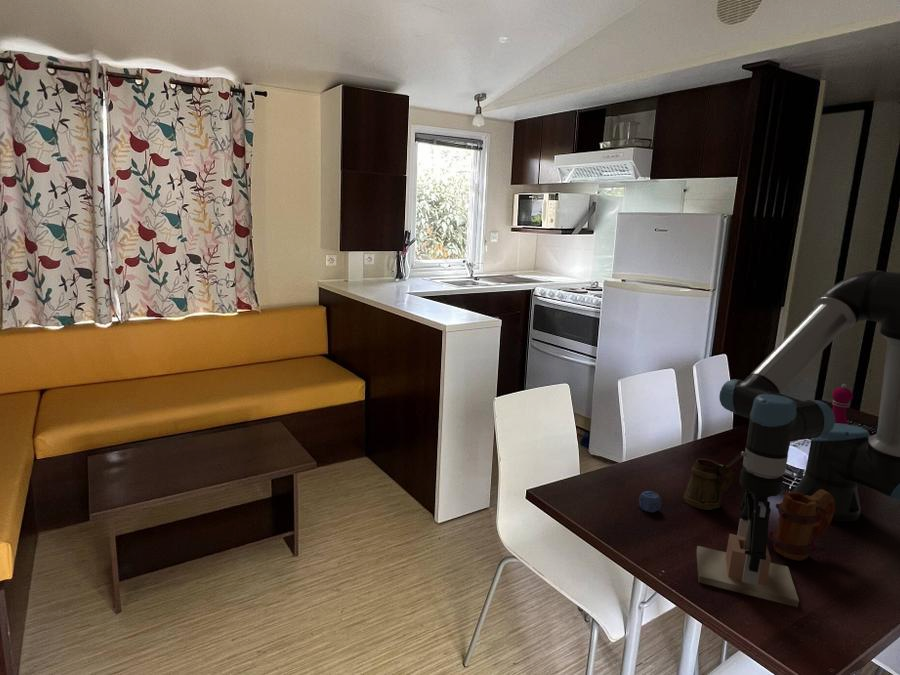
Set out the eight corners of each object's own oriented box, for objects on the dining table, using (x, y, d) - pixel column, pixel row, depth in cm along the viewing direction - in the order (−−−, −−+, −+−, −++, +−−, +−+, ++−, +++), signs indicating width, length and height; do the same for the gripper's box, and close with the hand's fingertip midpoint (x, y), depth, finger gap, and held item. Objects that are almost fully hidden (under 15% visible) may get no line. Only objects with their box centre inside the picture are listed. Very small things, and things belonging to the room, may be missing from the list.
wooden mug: (727, 521, 141) (739, 455, 138) (677, 500, 151) (686, 437, 147) (743, 511, 147) (754, 446, 143) (693, 490, 157) (702, 430, 153)
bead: (761, 566, 121) (765, 541, 119) (765, 585, 114) (770, 559, 113) (725, 558, 123) (729, 533, 122) (728, 576, 117) (732, 550, 116)
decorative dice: (637, 505, 148) (639, 491, 147) (650, 504, 149) (652, 490, 148) (646, 513, 144) (648, 499, 143) (660, 511, 145) (662, 497, 144)
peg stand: (786, 572, 122) (797, 516, 119) (797, 607, 111) (810, 545, 108) (696, 551, 128) (705, 497, 125) (698, 582, 117) (707, 523, 114)
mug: (788, 567, 123) (800, 505, 120) (758, 546, 131) (769, 487, 128) (839, 559, 128) (852, 498, 124) (807, 539, 135) (819, 481, 132)
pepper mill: (825, 431, 208) (836, 379, 204) (848, 438, 202) (860, 385, 198) (818, 435, 203) (829, 383, 199) (842, 442, 198) (853, 388, 194)
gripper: (736, 445, 127) (721, 530, 131) (749, 493, 104) (731, 594, 109) (773, 451, 124) (757, 538, 129) (795, 502, 101) (775, 605, 106)
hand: (745, 564), depth 119 cm, fingers open, 13 cm apart
